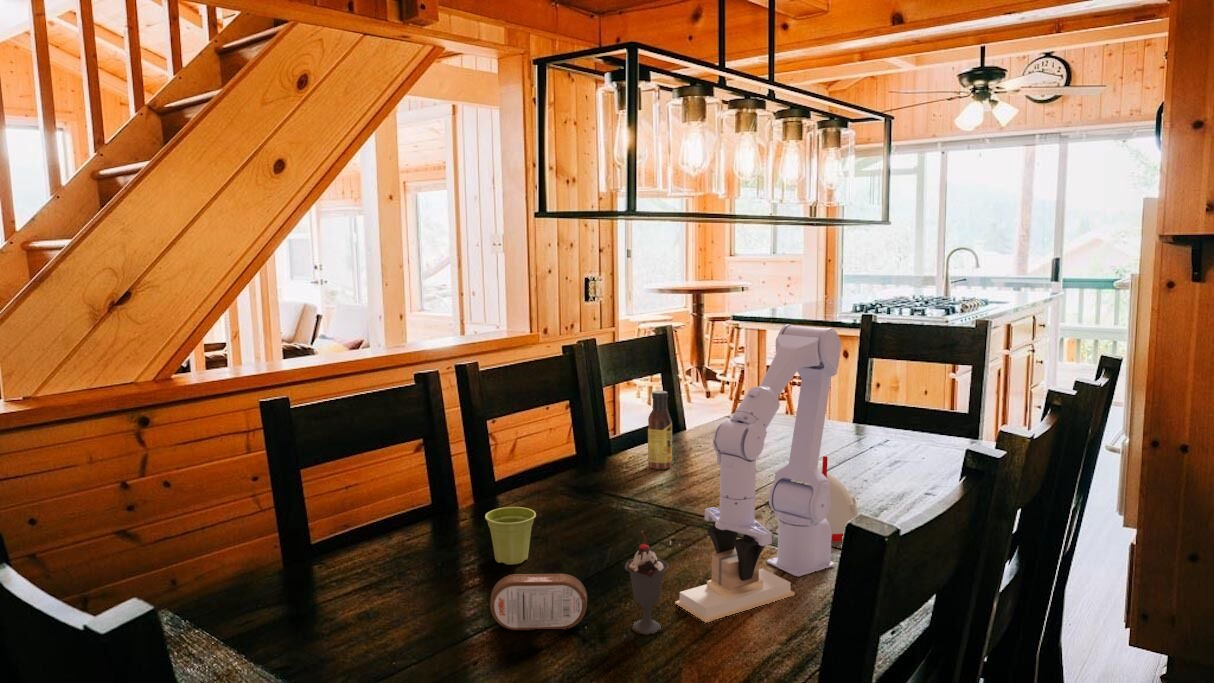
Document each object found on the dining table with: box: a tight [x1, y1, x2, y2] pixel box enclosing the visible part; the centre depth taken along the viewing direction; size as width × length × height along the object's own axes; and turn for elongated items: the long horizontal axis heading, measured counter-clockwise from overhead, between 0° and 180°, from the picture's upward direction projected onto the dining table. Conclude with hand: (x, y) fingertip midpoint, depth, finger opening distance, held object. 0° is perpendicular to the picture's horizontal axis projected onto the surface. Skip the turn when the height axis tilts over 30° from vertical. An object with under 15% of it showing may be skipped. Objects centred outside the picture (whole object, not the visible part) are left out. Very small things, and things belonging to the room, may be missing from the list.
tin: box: [489, 573, 588, 631], centre depth 129 cm, size 15×3×8 cm, turn 92°
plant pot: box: [484, 506, 537, 565], centre depth 156 cm, size 9×9×9 cm
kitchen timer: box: [803, 455, 859, 543], centre depth 170 cm, size 14×14×15 cm
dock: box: [674, 568, 796, 624], centre depth 138 cm, size 8×19×2 cm, turn 122°
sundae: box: [624, 530, 670, 634], centre depth 128 cm, size 7×7×15 cm
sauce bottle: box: [647, 390, 673, 470], centre depth 215 cm, size 6×6×20 cm
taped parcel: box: [706, 548, 763, 598], centre depth 137 cm, size 8×5×6 cm, turn 122°
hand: (735, 573), depth 138 cm, fingers open, 4 cm apart
